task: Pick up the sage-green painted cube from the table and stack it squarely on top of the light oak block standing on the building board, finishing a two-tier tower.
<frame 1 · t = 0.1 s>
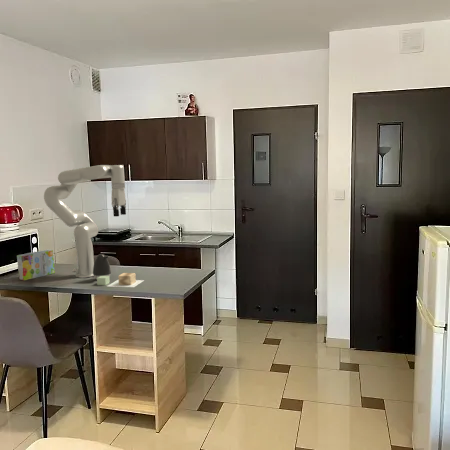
hand: (119, 215, 271), 37 cm above the countertop, tool pointing down, fingers open, 9 cm apart
oak block: (127, 283, 254), point 1 cm above the countertop, touching building board
building board: (125, 285, 255), on the countertop
sage cube: (103, 285, 255), on the countertop
pump dispenser: (102, 280, 269), on the countertop
snack box: (37, 276, 282), on the countertop
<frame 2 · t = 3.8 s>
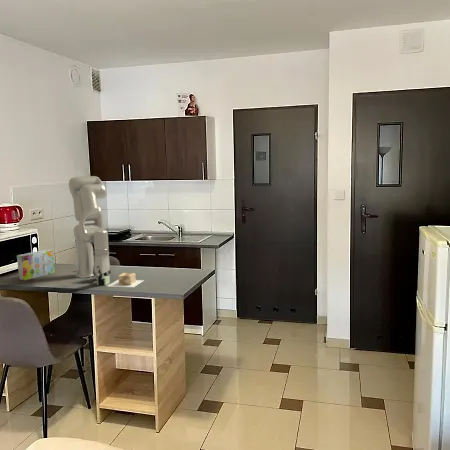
hand: (103, 284, 255), 1 cm above the countertop, tool pointing down, fingers closed on sage cube, 4 cm apart
sage cube: (103, 285, 255), on the countertop, touching gripper
everything else where it was.
when the fingers open (7 cm above the countertop, at t = 8.7 s): sage cube stays where it is, resting on oak block.
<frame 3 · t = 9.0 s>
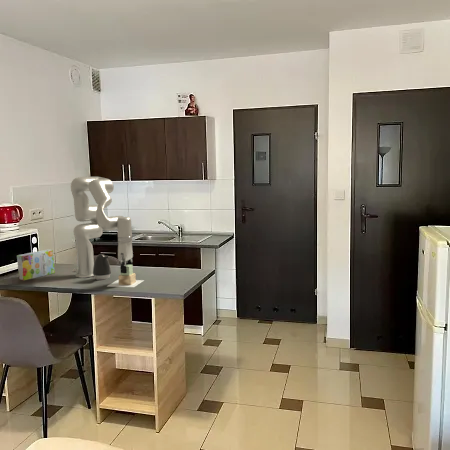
hand: (126, 271, 254), 8 cm above the countertop, tool pointing down, fingers open, 7 cm apart
oak block: (127, 283, 254), point 1 cm above the countertop, touching building board, sage cube
sage cube: (126, 274, 254), point 6 cm above the countertop, touching oak block
everything else where it was.
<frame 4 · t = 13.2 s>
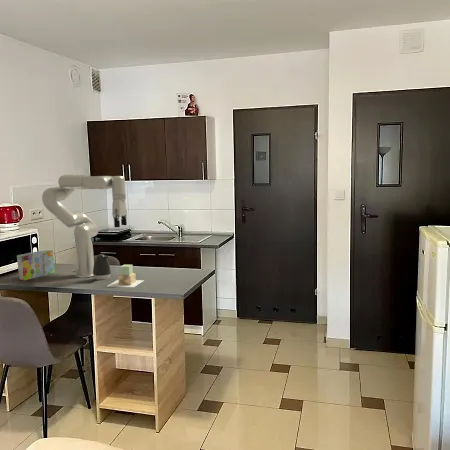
hand: (120, 226, 272), 30 cm above the countertop, tool pointing down, fingers open, 9 cm apart
nothing on the countertop moved.
at the end: sage cube 0.0 cm off-centre on the oak block, point 5.0 cm above the oak block's base; sage cube tilted 0°; oak block moved 0.0 cm from its start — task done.
